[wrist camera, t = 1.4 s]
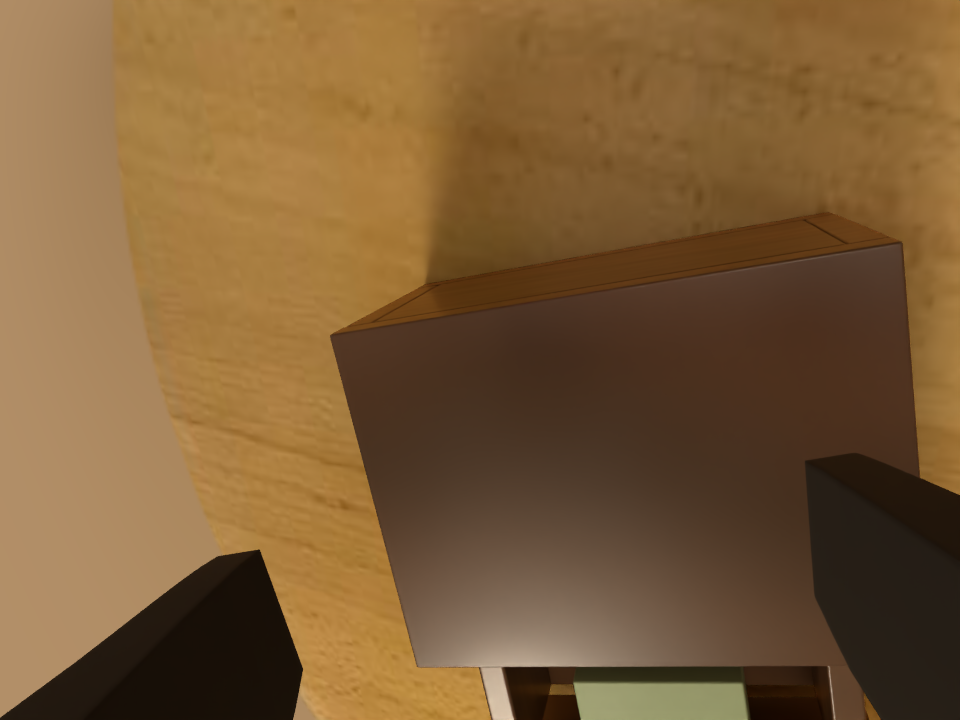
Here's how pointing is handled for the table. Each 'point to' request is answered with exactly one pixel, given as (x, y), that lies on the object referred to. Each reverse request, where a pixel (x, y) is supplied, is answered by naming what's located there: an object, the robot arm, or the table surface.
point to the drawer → (829, 716)
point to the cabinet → (629, 444)
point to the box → (661, 693)
